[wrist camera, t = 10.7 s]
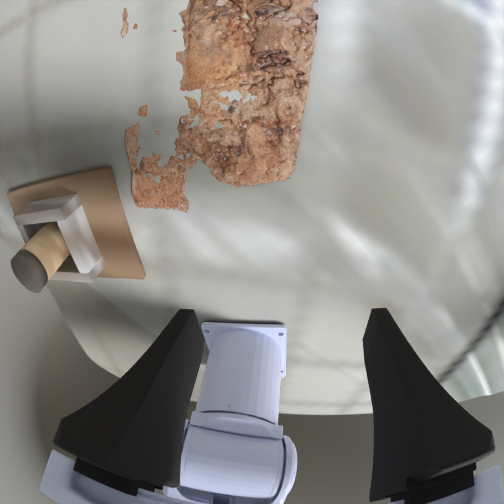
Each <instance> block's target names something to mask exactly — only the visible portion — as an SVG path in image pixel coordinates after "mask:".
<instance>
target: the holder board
mask: <svg viewBox="0 0 504 504" xmlns="http://www.w3.org/2000/svg"><path fill="white" fill-rule="evenodd" d="M7 196H8V198H9V201H10V204H11V206H12V209H13V211H14V214H15V215H14V216H13V217H14V219H15V222H16V224H17V227H18V229H19V231H20V233H21V235H22V238H23V240H24V242H25V244H26V243H27V242H28V241H29V240H30V239H31V238H32V237H33V236H34V235H35V234H36V233H37V232H38V231H39V230H40V229H41V228H42V227H43V226H44V225H46V224H47V223H48V222H53V221H57V223H58V226H59V228H60V231H61V233H62V235H63V238H64V240H65V242H66V244H67V247H68V249H69V251H70V253H71V254H70V255H69V256H68V257H67V258H66V259H65V261H64V262H63V263H62V264H61V266H60V267H59V268H58V269H57V271H56V272H55V273H54V274H53V276H52V277H51V278H50V279H52V280H63V281H76V282H89V283H93V282H94V281H95V279H96V278H97V277H105V278H125V279H144V277H145V276H146V273H145V271H144V268H143V266H142V263H141V260H140V257H139V255H138V252H137V249H136V246H135V243H134V241H133V238H132V235H131V232H130V229H129V226H128V223H127V220H126V216H125V213H124V210H123V207H122V204H121V200H120V197H119V193H118V190H117V187H116V183H115V179H114V176H113V172H112V168H111V166H108V167H103V168H98V169H93V170H88V171H84V172H79V173H75V174H70V175H66V176H62V177H58V178H54V179H50V180H46V181H42V182H39V183H35V184H32V185H28V186H25V187H21V188H18V189H15V190H12V191H10V192H8V193H7Z"/></svg>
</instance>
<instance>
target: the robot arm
mask: <svg viewBox="0 0 504 504" xmlns="http://www.w3.org/2000/svg"><path fill="white" fill-rule="evenodd" d="M201 329H202V331H201ZM201 329H200V326H199V323H198V320H197V317H196V315H195V312H194V310H191V309H180V310H179V311H178V312H177V313H176V315H175V316H174V317H173V318H172V320H171V321H170V322H169V324H168V325H167V326H166V328H165V329H164V330H163V331H162V333H161V334H160V335H159V336H158V338H157V339H156V340H155V341H154V343H153V344H152V345H151V346H150V347H149V349H148V350H147V351H146V352H145V353H144V354H143V355H142V357H141V358H140V359H139V360H138V361H137V362H136V363H135V364H134V365H133V366H132V367H131V368H130V369H129V370H128V371H127V372H126V373H125V374H124V375H123V376H122V377H121V378H120V379H119V380H118V381H117V382H116V383H115V384H114V385H112V386H111V387H110V388H109V389H108V390H106V391H105V392H104V393H102V394H101V395H100V396H99V397H97V398H96V399H94V400H93V401H91V402H90V403H89V404H87V405H86V406H84V407H82V408H81V409H79V410H77V411H76V412H74V413H72V414H70V415H69V416H67V417H65V418H63V419H61V422H60V424H59V427H58V429H57V432H56V435H55V437H54V440H53V443H54V444H55V445H56V446H58V447H60V448H61V449H63V450H65V451H67V452H68V453H70V454H72V455H74V456H76V457H77V459H76V461H74V460H72V459H70V458H68V457H66V456H64V455H62V454H61V453H59V452H57V451H55V450H52V452H51V455H50V458H49V461H48V464H47V467H46V471H45V473H44V476H43V480H42V483H41V486H40V490H41V491H42V492H43V493H45V494H46V495H47V496H49V497H50V498H52V499H53V500H55V501H56V502H58V503H59V504H283V503H284V500H285V498H286V496H287V494H288V493H289V492H290V490H291V488H292V486H293V483H294V480H295V476H296V469H297V453H296V448H295V445H294V444H293V442H292V441H291V439H290V438H289V437H288V436H283V426H279V425H278V412H279V397H280V381H281V378H282V377H285V376H286V326H285V325H277V324H237V323H215V322H203V323H202V325H201ZM202 332H203V334H202ZM203 335H204V337H203ZM204 338H205V341H206V344H207V346H208V349H209V356H208V360H207V364H206V368H205V372H204V376H203V381H202V385H201V389H200V393H199V398H198V402H197V406H196V410H195V411H193V412H192V416H191V420H190V421H189V420H187V419H186V415H187V410H188V406H189V402H190V398H191V395H192V391H193V388H194V384H195V381H196V377H197V374H198V370H199V367H200V363H201V359H202V353H203V346H204ZM363 349H364V361H365V367H366V372H367V378H368V383H369V389H370V394H371V400H372V406H373V415H374V456H373V471H372V480H371V488H370V502H373V501H379V500H384V499H389V498H391V503H386V504H503V494H502V480H501V471H500V465H499V464H498V465H496V466H494V467H492V468H490V469H487V470H486V471H483V472H481V473H479V474H477V475H474V476H473V471H474V470H476V462H477V461H480V460H481V459H483V458H485V457H487V456H489V455H490V454H492V453H494V451H495V445H494V439H493V434H492V431H491V430H490V429H488V428H487V427H486V426H484V425H483V424H481V423H480V422H479V421H478V420H476V419H475V418H474V417H473V416H471V415H470V414H469V413H468V412H467V411H466V410H465V409H464V408H463V407H462V406H461V405H459V403H457V402H456V401H455V400H454V399H453V398H452V397H451V396H450V395H449V394H448V392H447V391H446V390H445V389H444V388H443V387H442V386H441V385H440V384H439V382H438V381H437V380H436V379H435V378H434V376H433V375H432V374H431V373H430V371H429V370H428V369H427V368H426V366H425V365H424V363H423V362H422V361H421V359H420V358H419V357H418V355H417V354H416V352H415V351H414V350H413V348H412V347H411V345H410V344H409V342H408V341H407V339H406V338H405V336H404V335H403V333H402V332H401V330H400V329H399V327H398V325H397V324H396V322H395V321H394V319H393V317H392V316H391V314H390V313H389V311H388V310H387V309H386V308H375V309H372V310H371V314H370V317H369V320H368V324H367V327H366V331H365V334H364V337H363ZM163 486H164V487H163ZM155 488H157V489H160V490H162V489H163V493H164V495H165V496H164V495H160V494H157V493H154V490H155Z"/></svg>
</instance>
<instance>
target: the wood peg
mask: <svg viewBox="0 0 504 504" xmlns="http://www.w3.org/2000/svg"><path fill="white" fill-rule="evenodd" d="M70 254H71V253H70V251H69V249H68V247H67V244H66V242H65V240H64V238H63V235H62V233H61V231H60V228H59V226H58V223H57V221H53V222H48V223H47V224H46V225H44V226H43V227H42V228H41V229H40V230H39V231H38V232H37V233H36V234H35V235H34V236H33V237H32V238H31V239H30V240H29V241H28V242H27V243H26V244H25V245H24V246H23V247H22V248H21V250H20V251H19V252H18V253H17V254H16V255H15V256H14V257H13V258H12V260H11V267H12V269H13V272H14V274H15V276H16V277H17V279H18V280H19V281H20V282H21V283H22V284H23V285H24V286H25V287H26V288H27V289H29V290H30V291H32V292H36V293H39V292H40V291H41V290H42V289H43V287H44V286H45V285H46V283H47V282H48V281H49V279H50V278H51V277H52V276H53V274H54V273H55V272H56V271H57V269H58V268H59V267H60V266H61V264H62V263H63V262H64V261H65V259H66V258H67V257H68V256H69V255H70Z"/></svg>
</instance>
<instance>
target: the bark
mask: <svg viewBox="0 0 504 504" xmlns="http://www.w3.org/2000/svg"><path fill="white" fill-rule="evenodd" d="M313 2H318V0H190V1H189V4H188V7H187V9H186V10H184V11H181V12H180V13H179V15H181V17H182V18H183V19H182V22H183V23H184V24H185V26H186V29H185V26H184V27H183V28H182V31H183V33H184V35H183V37H184V45H185V48H186V49H185V51H182V52H177V53H176V60H177V61H178V62H180V63H181V64H182V65H183V72H184V74H183V78H182V80H181V81H180V83H181V88H180V89H181V90H182V91H185V90H187V91H190V90H191V91H193V90H195V89H201V98H200V99H201V105H200V109H199V107H198V104H197V102H196V100H194V99H192V98H190V97H186V96H184V97H185V98H186V100H188V104H189V106H188V107H189V108H190V109H191V111H190V115H191V116H192V117H193V118H194V117H195V115H199V125H197V126H195V127H193V128H189V129H187V128H188V126H189V125H191V123H192V122H193V121H194V120H193V119H192V118H191V117H190V116H189V115H185V116H181V118H180V120H179V125H178V127H177V129H178V131H179V136H180V137H179V138H177V139H176V140H175V143H174V144H175V145H176V149H175V150H176V155H177V156H179V155H182V154H183V157H184V160H181V159H180V158H178V157H177V156H171V157H170V159H169V162H168V164H166V165H165V166H164V168H163V167H158V163H157V161H159V160H160V158H162V156H160V155H157V154H154V153H152V157H144V158H142V161H141V163H140V170H139V171H138V169H137V168H136V166H137V162H136V158H135V155H138V149H141V148H140V147H138V130H139V121H138V123H137V124H136V125H135V126H133V127H131V128H129V129H127V130H126V136H125V144H126V149H127V153H128V157H129V161H130V166H131V170H132V174H133V178H132V194H133V197H134V200H135V203H136V206H137V207H144V208H149V207H151V208H154V209H155V208H157V209H158V207H161V209H162V208H166V209H171V208H173V209H174V210H175V209H178V210H179V211H184V212H186V213H187V209H188V205H189V204H188V201H187V200H186V198H185V196H183V195H184V192H185V173H186V168H188V167H193V166H195V163H196V160H201V161H202V162H204V163H205V164H206V165H207V166H208V167H209V168H210V172H211V173H212V175H214V176H215V177H216V179H217V180H218V181H221V182H225V183H228V182H229V184H233V185H234V186H236V187H237V188H238V187H240V186H243V185H244V186H246V185H251V184H252V185H257V184H260V183H262V184H263V183H264V184H265V183H267V182H273V181H280V180H281V181H285V180H286V179H290V178H289V176H290V175H291V172H293V166H294V165H295V162H296V161H295V159H296V153H297V148H298V145H299V138H300V131H301V129H300V124H301V120H302V117H303V114H304V109H305V102H306V101H305V100H306V99H307V98H306V97H307V91H308V87H309V86H308V84H309V80H310V79H309V71H310V70H311V66H310V64H311V63H312V62H313V60H312V58H310V57H311V56H312V54H313V49H314V47H315V39H314V38H313V37H314V36H316V32H317V26H316V24H317V19H318V14H317V13H316V12H315V11H314V10H313ZM245 13H247V15H248V17H249V19H245V18H243V16H244V15H245ZM127 16H128V14H127V10H126V8H124V13H123V22H124V26H123V30H122V33H121V34H122V38H123V37H124V36H125V35H126V34H127V33H128V24H129V23H128V22H127ZM237 17H239V19H237ZM137 26H138V25H137V24H136V23H135V25H134V27H133V28H134V29H137ZM243 27H244V28H243ZM299 30H300V31H299ZM172 31H174V32H176V30H172ZM224 84H225V85H224ZM188 87H189V88H190V89H189V88H188ZM226 90H227V91H228V92H229V91H231V90H239V92H240V93H251V96H257V98H256V99H255V98H254V99H255V101H252V99H251V98H250V101H248V102H246V103H244V100H245V98H246V97H247V96H248V95H246V94H241V95H242V96H243V97H242V99H241V100H240V102H239V101H236V100H235V99H234V100H233V102H229V98H228V96H227V97H226V98H224V97H222V96H220V95H218V93H220V92H223V91H226ZM258 101H259V102H258ZM219 102H220V103H223V104H226V105H227V106H229V107H228V110H227V111H225V110H221V107H220V105H219V104H218V103H219ZM260 102H261V103H260ZM146 112H147V105H146V106H142V107H140V108H139V112H138V115H139V116H146ZM224 117H225V118H224ZM181 121H183V122H186V123H184V124H183V123H182V122H181ZM218 122H220V123H221V124H222V125H225V126H224V127H223V128H220V129H216V128H215V126H214V125H215V124H216V123H218ZM160 132H161V131H156V134H157V135H159V134H160ZM188 140H190V141H191V143H190V142H189V141H188ZM194 144H195V145H194ZM141 150H142V149H141ZM188 152H190V153H192V154H191V155H190V156H189V157H188V158H187V159H186V154H187V153H188ZM224 157H225V158H227V160H225V161H224ZM180 162H182V164H183V166H180V165H179V163H180ZM140 171H142V172H145V173H146V174H148V173H150V174H152V175H153V176H154V177H156V176H160V184H159V183H156V182H154V179H153V177H150V176H147V175H144V174H143V173H142V172H140ZM165 175H166V176H165ZM183 177H184V179H183Z"/></svg>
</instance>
